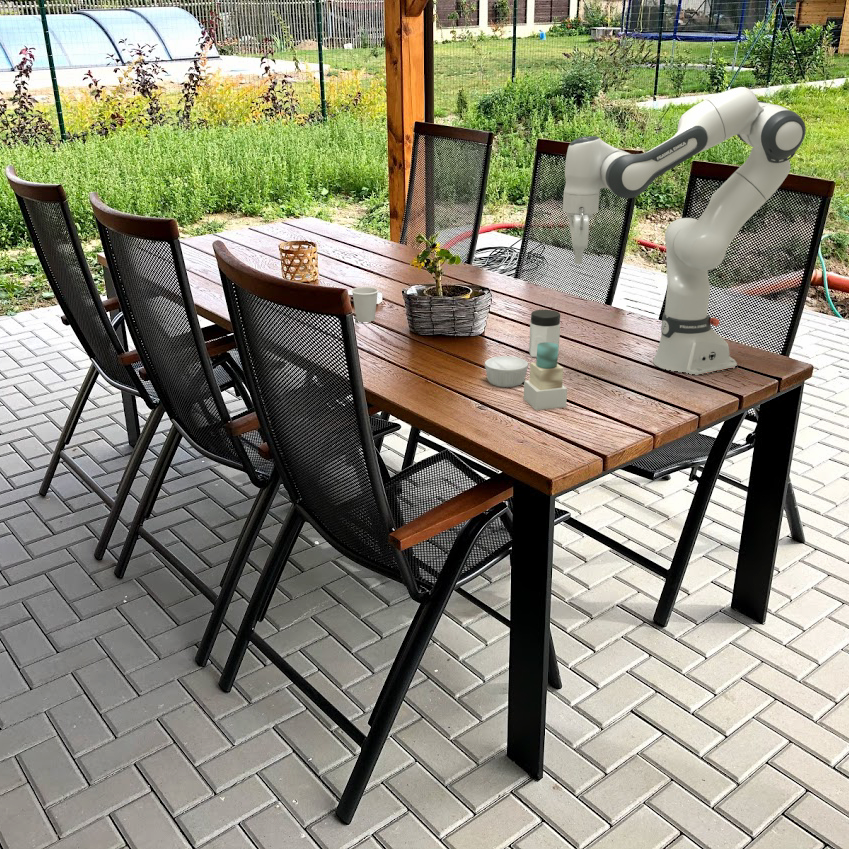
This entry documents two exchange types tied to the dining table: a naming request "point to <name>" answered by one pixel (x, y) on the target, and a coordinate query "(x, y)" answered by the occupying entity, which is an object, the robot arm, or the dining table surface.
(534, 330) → the jar
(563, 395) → the grey base block
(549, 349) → the teal cylinder
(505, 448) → the dining table surface
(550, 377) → the birch top block
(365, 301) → the dixie cup
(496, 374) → the ramekin
